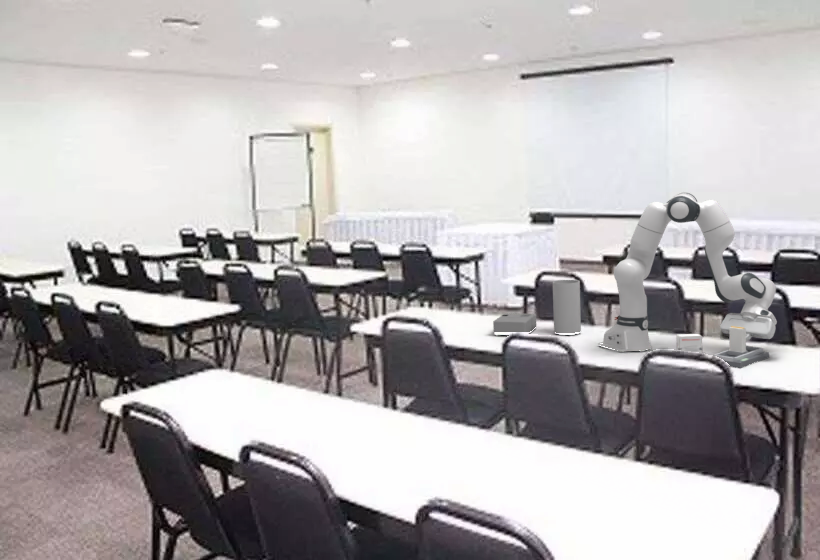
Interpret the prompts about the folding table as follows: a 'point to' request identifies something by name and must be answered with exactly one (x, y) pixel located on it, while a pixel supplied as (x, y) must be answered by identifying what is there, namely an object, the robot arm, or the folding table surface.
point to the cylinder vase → (566, 306)
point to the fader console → (744, 357)
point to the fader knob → (737, 341)
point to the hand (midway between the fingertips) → (740, 343)
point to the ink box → (689, 342)
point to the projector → (515, 323)
